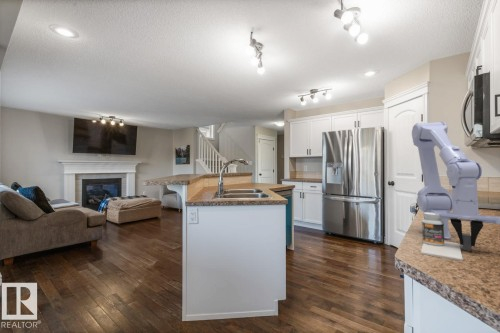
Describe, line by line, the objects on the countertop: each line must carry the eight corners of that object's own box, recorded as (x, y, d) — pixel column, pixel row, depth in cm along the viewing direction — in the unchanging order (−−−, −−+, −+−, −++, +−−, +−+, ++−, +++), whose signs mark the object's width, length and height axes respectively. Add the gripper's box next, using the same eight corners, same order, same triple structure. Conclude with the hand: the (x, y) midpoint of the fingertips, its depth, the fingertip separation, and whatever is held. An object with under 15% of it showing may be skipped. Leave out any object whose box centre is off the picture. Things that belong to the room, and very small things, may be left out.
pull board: (424, 240, 80) (423, 227, 80) (469, 246, 72) (469, 232, 72) (421, 253, 66) (420, 238, 66) (476, 263, 58) (475, 246, 59)
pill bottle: (424, 244, 73) (423, 214, 73) (420, 240, 78) (419, 211, 78) (447, 247, 70) (445, 215, 70) (441, 242, 75) (440, 212, 75)
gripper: (434, 200, 71) (436, 243, 70) (502, 203, 61) (505, 253, 61) (434, 198, 76) (436, 238, 75) (497, 201, 67) (500, 246, 66)
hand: (467, 244), depth 68 cm, fingers closed on pull board, 2 cm apart
